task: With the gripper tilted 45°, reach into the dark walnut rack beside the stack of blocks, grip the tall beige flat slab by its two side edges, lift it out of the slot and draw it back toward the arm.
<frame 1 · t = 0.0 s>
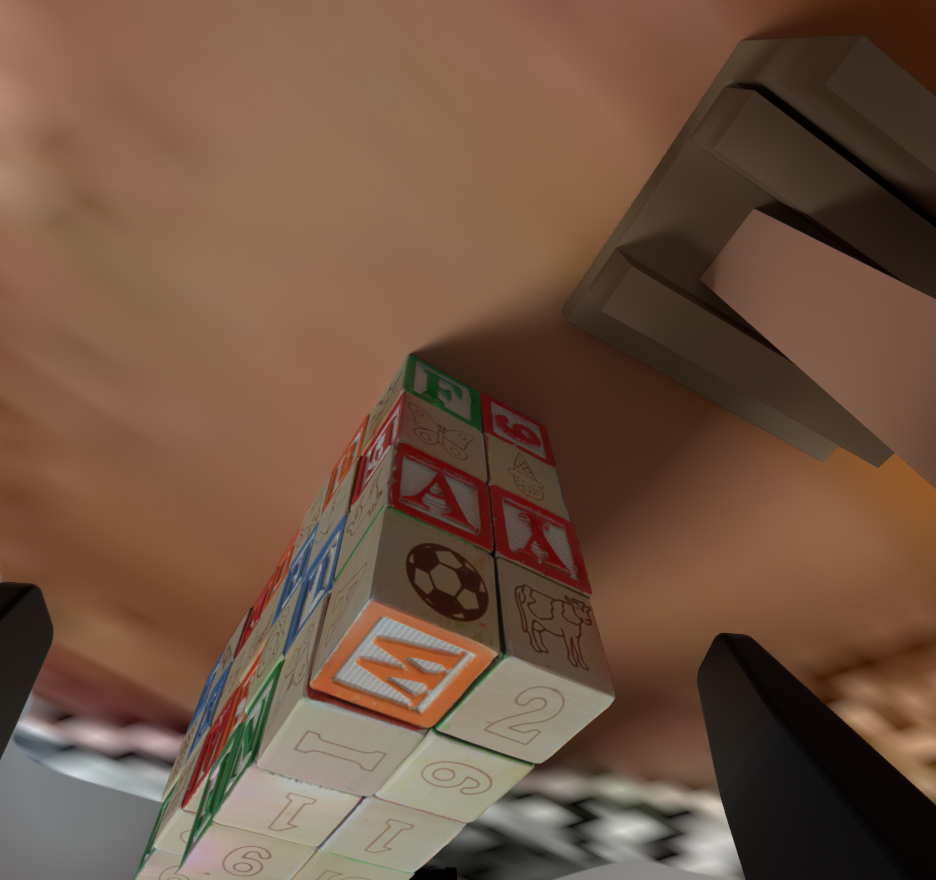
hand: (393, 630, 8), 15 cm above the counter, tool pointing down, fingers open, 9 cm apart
stack of blocks: (354, 564, 28), on the counter
beige flat slab: (794, 289, 20), point 1 cm above the counter, touching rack
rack: (780, 280, 21), on the counter
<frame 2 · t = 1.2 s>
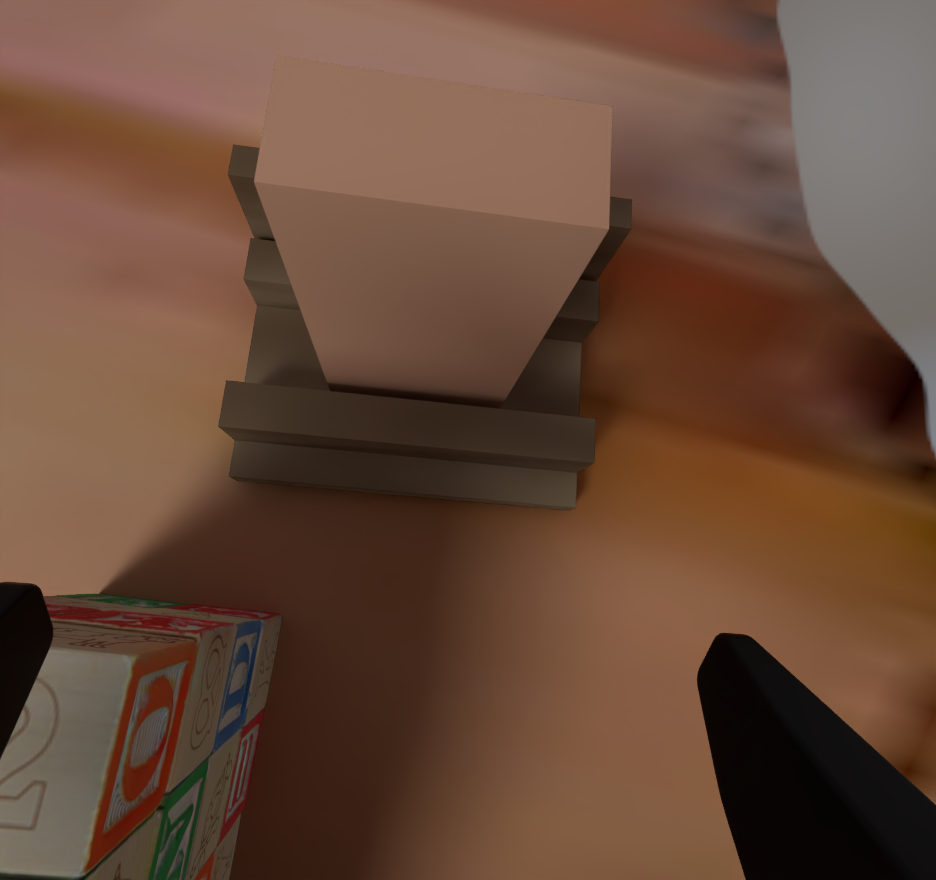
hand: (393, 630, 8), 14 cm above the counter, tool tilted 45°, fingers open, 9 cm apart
beige flat slab: (418, 369, 22), point 1 cm above the counter, touching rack
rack: (418, 377, 23), on the counter
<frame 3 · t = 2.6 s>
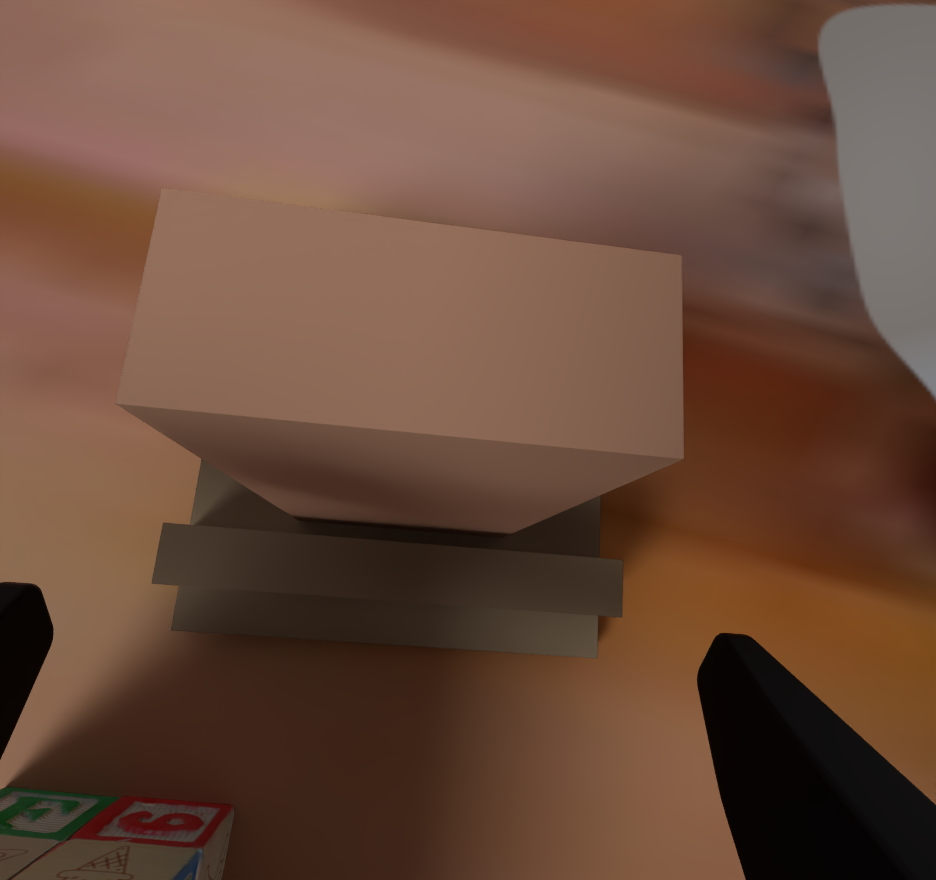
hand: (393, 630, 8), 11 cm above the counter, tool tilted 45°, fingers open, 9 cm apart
beige flat slab: (406, 487, 18), point 1 cm above the counter, touching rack
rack: (405, 492, 19), on the counter
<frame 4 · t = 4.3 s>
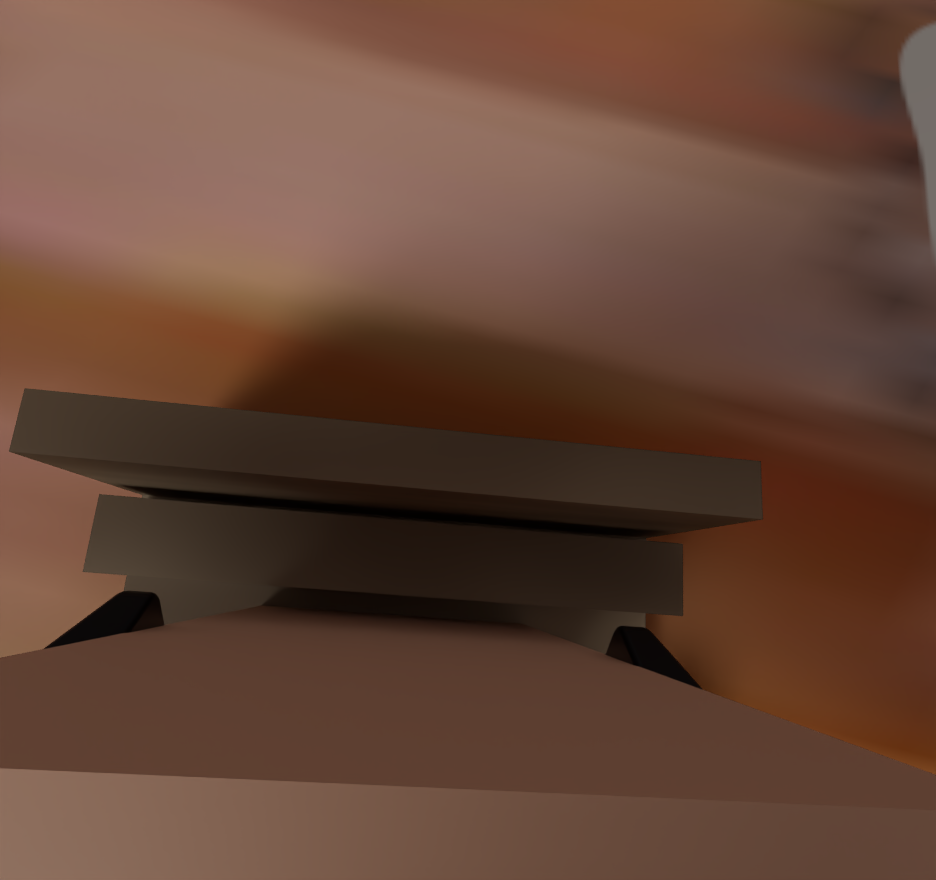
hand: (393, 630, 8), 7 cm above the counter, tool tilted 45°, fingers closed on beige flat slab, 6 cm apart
beige flat slab: (388, 672, 14), point 1 cm above the counter, touching gripper, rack
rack: (389, 666, 15), on the counter
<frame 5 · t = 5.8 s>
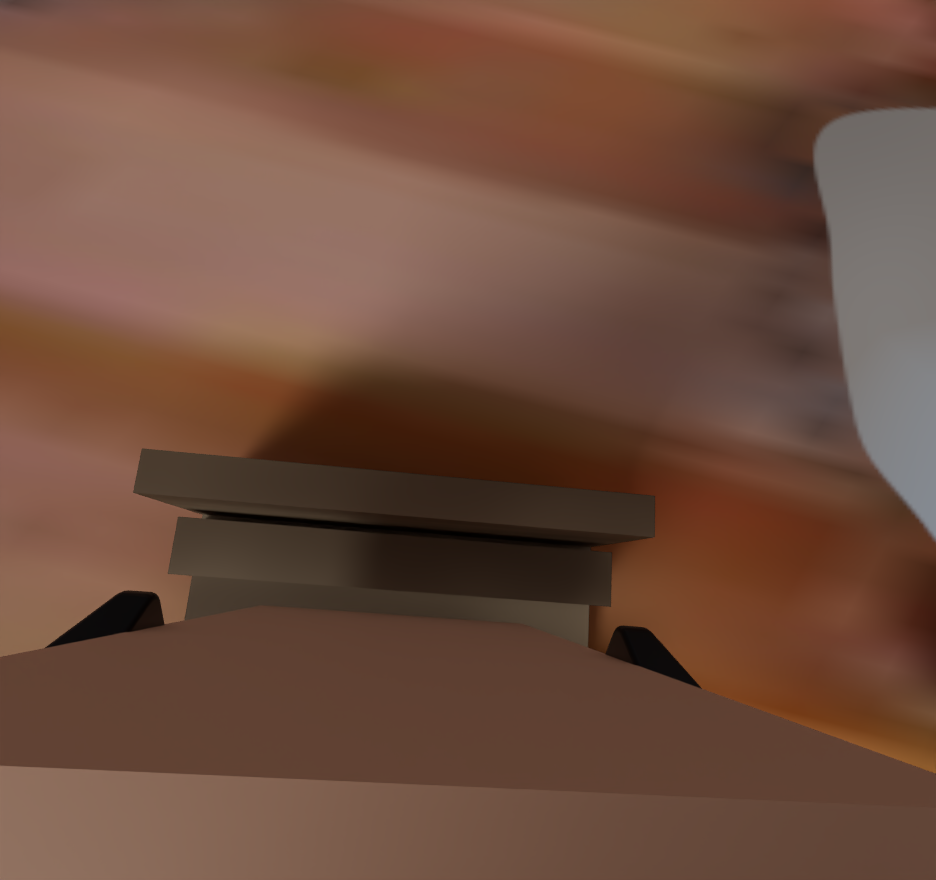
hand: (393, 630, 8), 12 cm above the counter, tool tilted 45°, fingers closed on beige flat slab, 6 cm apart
beige flat slab: (388, 671, 14), point 5 cm above the counter, touching gripper
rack: (391, 646, 19), on the counter
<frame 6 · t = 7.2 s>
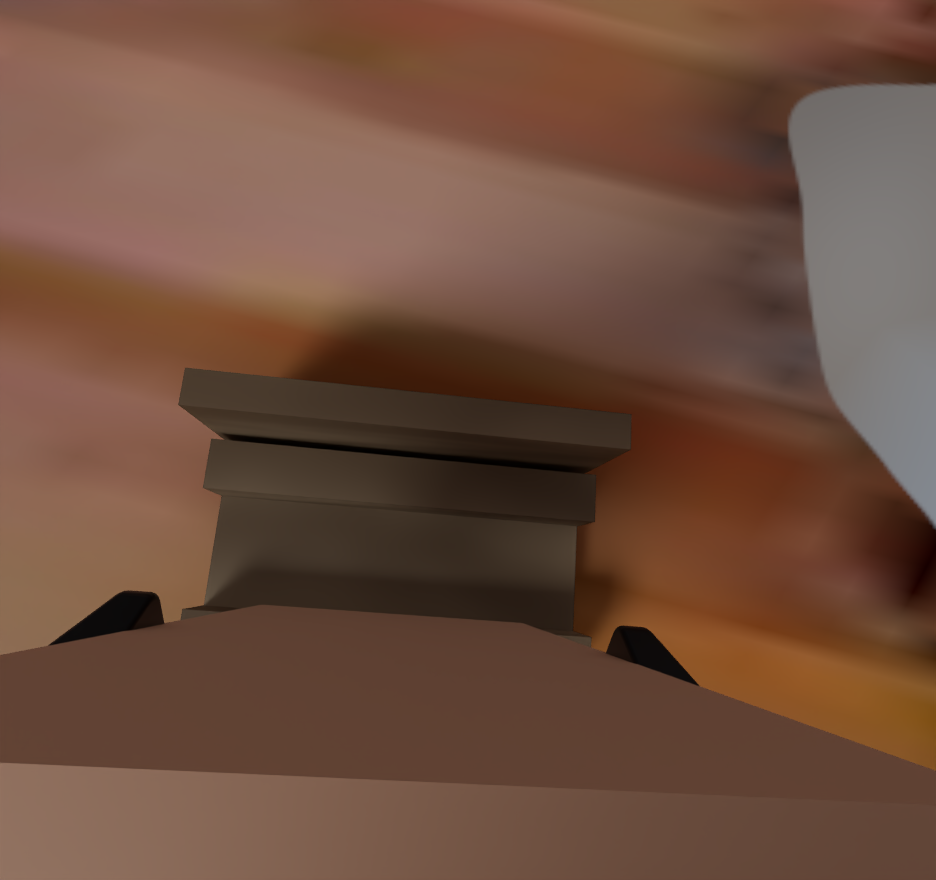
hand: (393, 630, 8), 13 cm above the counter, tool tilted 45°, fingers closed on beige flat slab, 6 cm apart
beige flat slab: (388, 671, 14), point 7 cm above the counter, touching gripper
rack: (398, 564, 21), on the counter
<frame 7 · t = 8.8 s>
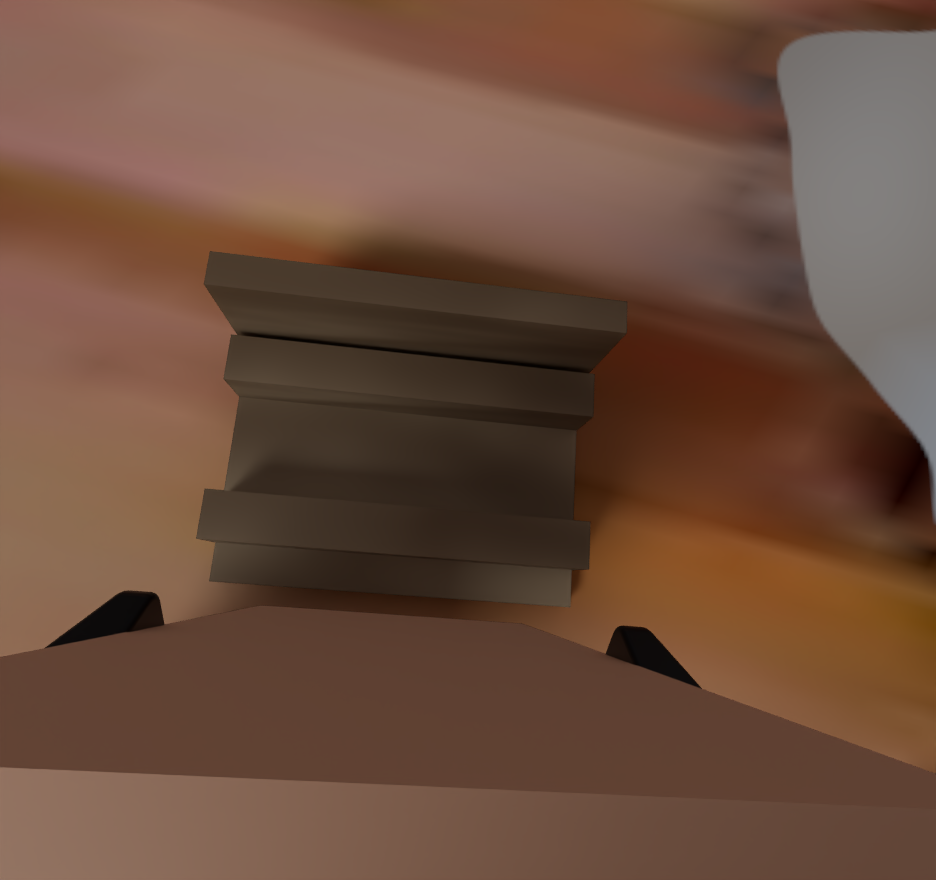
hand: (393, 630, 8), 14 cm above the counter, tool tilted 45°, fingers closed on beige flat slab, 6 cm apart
beige flat slab: (388, 672, 14), point 7 cm above the counter, touching gripper
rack: (407, 467, 22), on the counter
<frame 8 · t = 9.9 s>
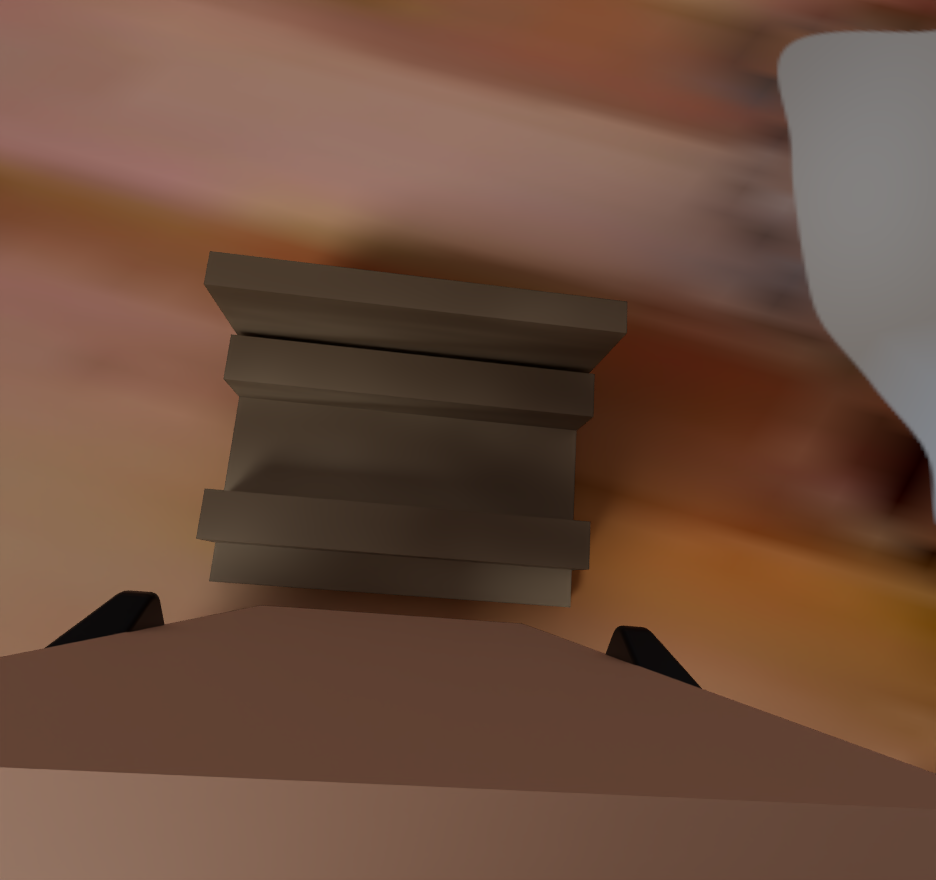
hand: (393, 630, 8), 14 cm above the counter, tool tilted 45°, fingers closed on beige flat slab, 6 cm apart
beige flat slab: (388, 672, 14), point 7 cm above the counter, touching gripper
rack: (407, 467, 22), on the counter
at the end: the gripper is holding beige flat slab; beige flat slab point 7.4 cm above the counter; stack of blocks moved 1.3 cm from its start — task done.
